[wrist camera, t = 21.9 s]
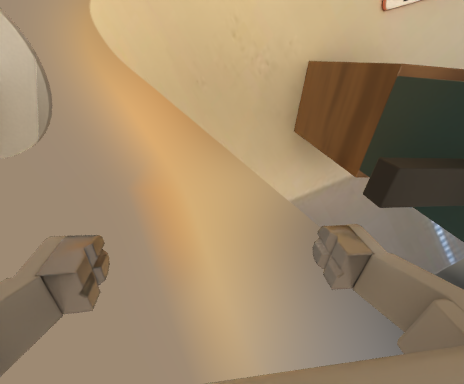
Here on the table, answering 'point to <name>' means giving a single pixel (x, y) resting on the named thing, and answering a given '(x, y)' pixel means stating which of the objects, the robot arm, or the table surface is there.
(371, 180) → the lever
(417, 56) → the table surface
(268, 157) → the table surface
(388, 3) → the cell phone
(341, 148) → the riser
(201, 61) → the table surface
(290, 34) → the table surface
